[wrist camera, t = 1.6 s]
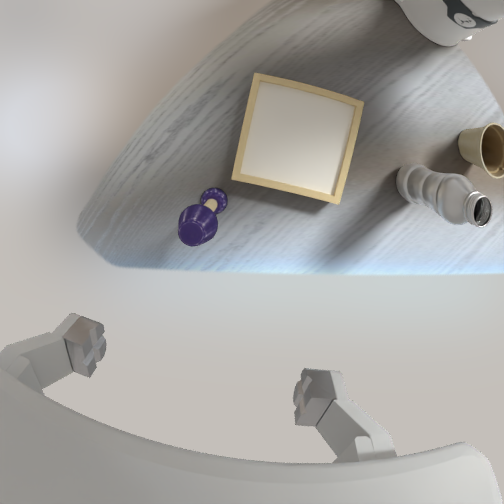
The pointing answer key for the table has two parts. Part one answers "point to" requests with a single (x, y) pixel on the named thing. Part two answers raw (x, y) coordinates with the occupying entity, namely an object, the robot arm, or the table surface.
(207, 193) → the toy lamp
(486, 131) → the flower pot
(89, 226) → the table surface
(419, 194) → the plastic bottle
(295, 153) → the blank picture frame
